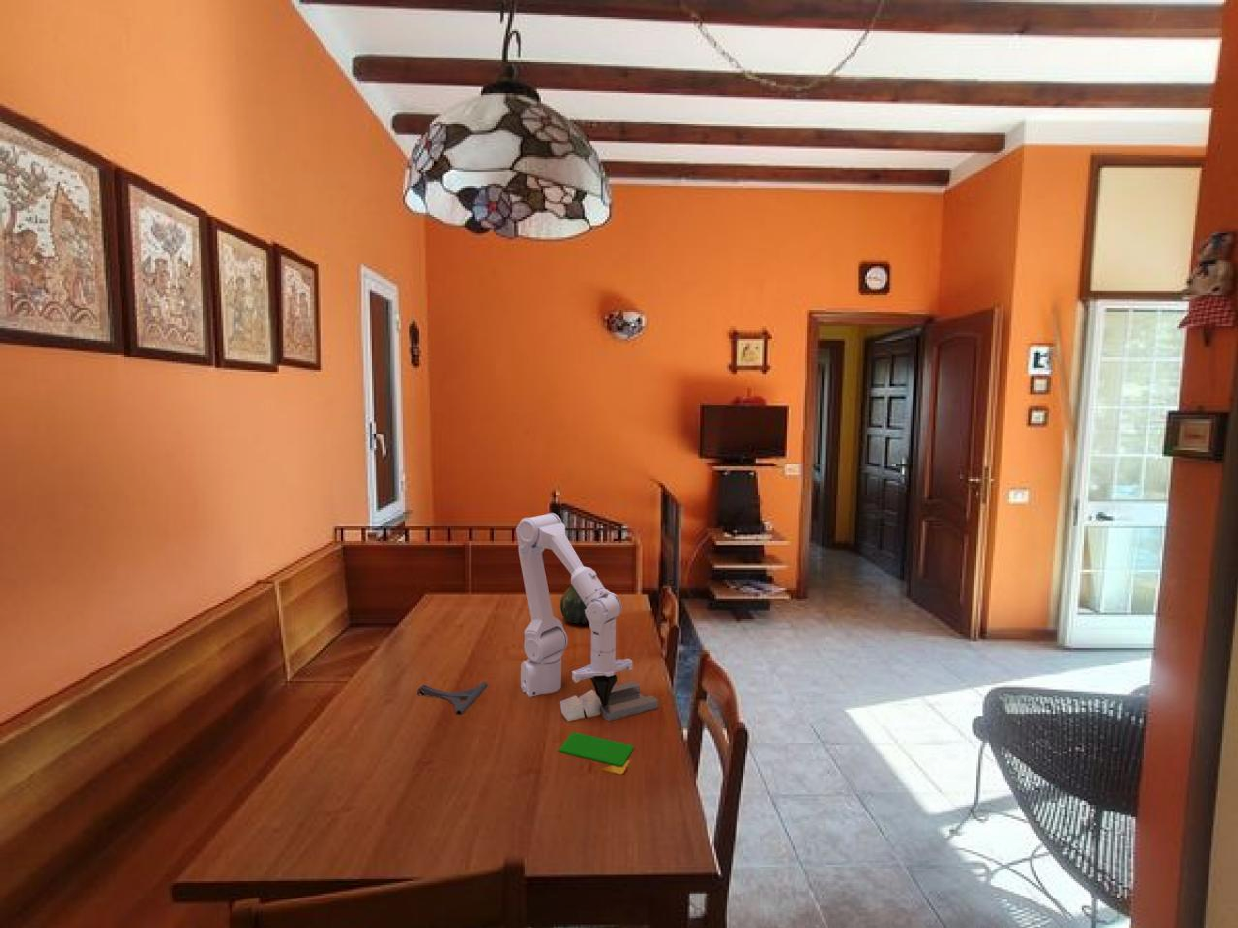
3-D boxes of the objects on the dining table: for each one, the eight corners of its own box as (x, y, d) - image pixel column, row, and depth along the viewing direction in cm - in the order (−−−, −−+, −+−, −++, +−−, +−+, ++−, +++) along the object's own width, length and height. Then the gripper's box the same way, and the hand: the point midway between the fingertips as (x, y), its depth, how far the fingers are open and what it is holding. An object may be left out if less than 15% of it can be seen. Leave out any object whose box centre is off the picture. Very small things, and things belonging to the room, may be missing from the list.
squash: (555, 597, 203) (562, 573, 193) (597, 595, 208) (607, 571, 197) (560, 636, 194) (568, 612, 183) (604, 633, 198) (615, 610, 188)
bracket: (432, 682, 153) (432, 672, 153) (487, 688, 151) (487, 677, 151) (402, 711, 139) (402, 699, 139) (462, 717, 137) (462, 706, 136)
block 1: (568, 725, 132) (566, 709, 131) (561, 717, 135) (559, 701, 135) (585, 719, 133) (582, 703, 133) (578, 711, 137) (575, 695, 136)
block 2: (589, 721, 134) (583, 706, 133) (582, 712, 137) (576, 698, 136) (604, 711, 135) (599, 697, 134) (597, 703, 139) (591, 689, 138)
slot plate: (607, 727, 132) (607, 713, 131) (586, 705, 141) (586, 692, 141) (657, 713, 138) (658, 700, 138) (633, 693, 148) (634, 680, 147)
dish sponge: (622, 776, 115) (622, 764, 115) (557, 760, 120) (557, 749, 120) (634, 756, 122) (634, 745, 122) (573, 742, 127) (573, 731, 127)
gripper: (581, 660, 129) (581, 720, 130) (639, 648, 136) (638, 705, 137) (568, 648, 135) (568, 705, 136) (624, 637, 142) (623, 692, 143)
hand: (602, 704), depth 137 cm, fingers closed
